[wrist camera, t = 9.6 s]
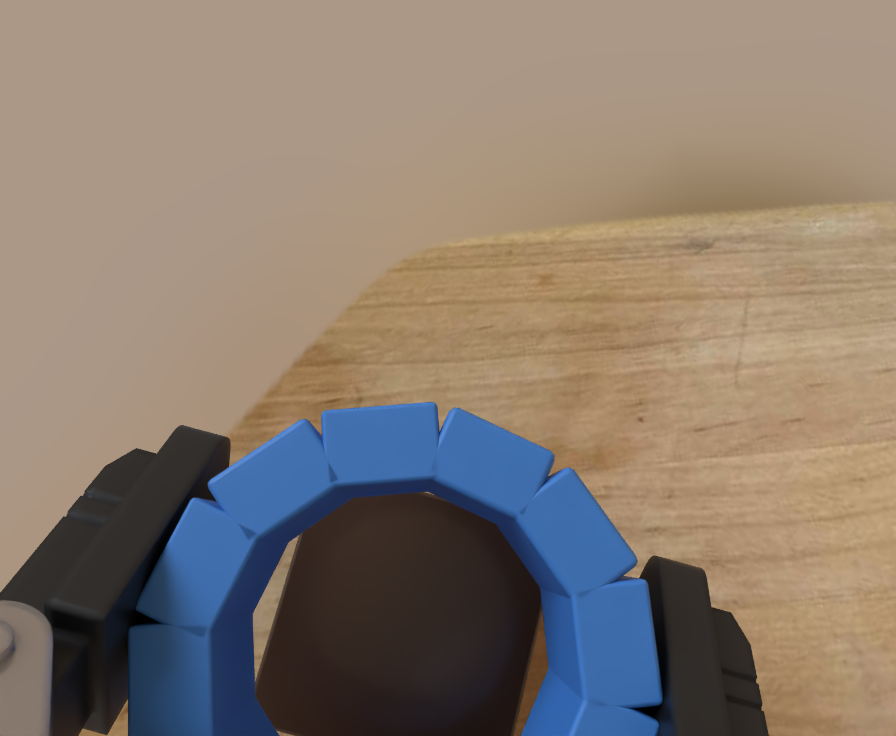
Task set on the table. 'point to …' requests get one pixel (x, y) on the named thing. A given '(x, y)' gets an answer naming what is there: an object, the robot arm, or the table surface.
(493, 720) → the riser block
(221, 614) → the tape roll
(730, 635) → the robot arm
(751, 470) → the table surface
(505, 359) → the table surface
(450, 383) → the table surface
